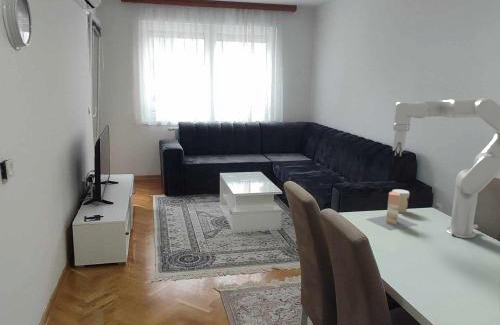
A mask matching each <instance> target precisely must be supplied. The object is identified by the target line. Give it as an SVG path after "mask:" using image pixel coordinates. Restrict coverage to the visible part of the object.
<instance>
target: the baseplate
mask: <svg viewBox="0 0 500 325" xmlns="http://www.w3.org/2000/svg"><path fill="white" fill-rule="evenodd" d="M386 217H387V215H383V216H382V215H381V216H377V217H376V216H375V217H370V218H365V220H366V221H369V222H371V223H373V224H375V225H378V226H379V227H382V228H383V229H385V230H388V231H394V230H401V229H405V228H410V227H415V226H418V224H417V223H414V222H413V221H411V220H410V221H409V220H408V219H405V218H402V217H399V216H398V217H397V224H391V223H386Z"/></svg>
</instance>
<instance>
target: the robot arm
mask: <svg viewBox="0 0 500 325" xmlns="http://www.w3.org/2000/svg"><path fill="white" fill-rule="evenodd" d="M426 117H443V118H450V119H461V118H463V119H465V118H481V119H482V120H483V121H484V122H485V123H486V124H487V125H489V126H490V127H492V128H493V130H494V134H493V137H492V139H491V140H490V141H489V143H488V144H487V145H486V146H485V147H484V148H483V149H482V150H480V152H479V153H478V154H477V155H476V156H475V157H474V160H473V166H472V167H471V168H465V169H463V170H460V171H459V172H458V173H457V175H456V178H455V189H454V197H453V205H452V212H451V219H450V226H449V227H446V229H445V230H446V232H448V233H449V234H451V236H453V237H456V238H460V239H474V238H475V237H476V234H477V233H476V232H474V229H475V230H476V229H478V228H479V225H478V224H475V223H474V222H475V217H476V216H475V215H476V208H477V204H478V194H479V193H480V192H482V190H483V189H485V188H486V187H487V185H488V184H490V182H492V181H493V179H494V178H495V177H496V176H497V175H498V174H499V172H500V104H498V103H497V102H496V101H494V100H493V99H490V98H487V97H481V98H480V97H477V98H459V99H456V98H455V99H447V100H427V101H417V102H409V101H398V102H396V103H395V107H394V118H393V126H392V131H394V135H393V143H392V144H393V145H392V151H395V152H394V156H393V164H395V165H401V163H402V160H403V154H404V152H403V151H405V150H404V149H405V146H406V139H407V132H410V128H411V118H413V119H414V118H415V119H420V120H421V119H424V118H426Z"/></svg>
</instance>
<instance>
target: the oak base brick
mask: <svg viewBox="0 0 500 325" xmlns="http://www.w3.org/2000/svg"><path fill="white" fill-rule="evenodd" d="M398 215H399V214H398ZM398 215H395V214H388V213H387V212H386V216H387V217H386V223H391V224H397V217H399V216H398Z"/></svg>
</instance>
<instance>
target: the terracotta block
mask: <svg viewBox="0 0 500 325" xmlns="http://www.w3.org/2000/svg"><path fill="white" fill-rule="evenodd" d="M399 200H400V193H395V192H392V191H389V192H388V199H387V205H388V204H392V205H399Z"/></svg>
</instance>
